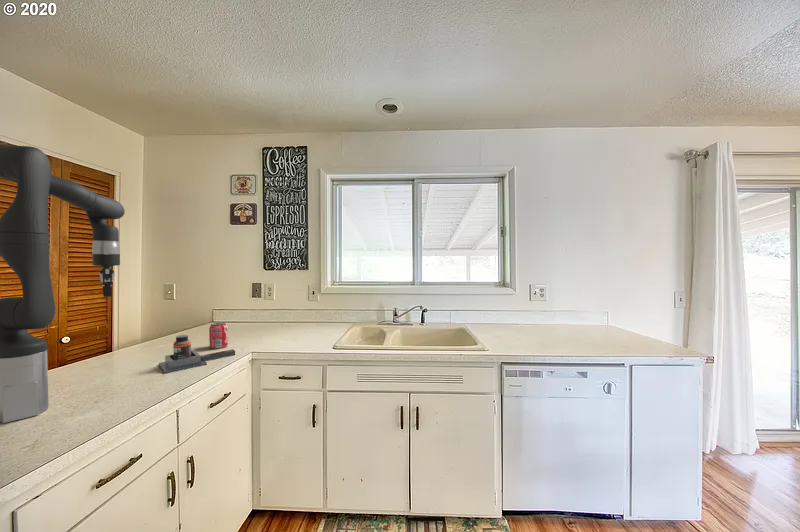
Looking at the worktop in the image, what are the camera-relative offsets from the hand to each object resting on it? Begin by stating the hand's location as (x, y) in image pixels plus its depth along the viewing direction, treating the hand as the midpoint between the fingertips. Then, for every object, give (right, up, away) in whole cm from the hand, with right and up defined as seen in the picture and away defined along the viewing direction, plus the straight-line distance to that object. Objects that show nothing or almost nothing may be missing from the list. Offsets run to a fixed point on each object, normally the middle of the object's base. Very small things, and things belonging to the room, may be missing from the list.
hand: (107, 295), depth 114 cm
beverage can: (+21, -30, +36) cm, 51 cm away
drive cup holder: (+25, -30, +15) cm, 42 cm away
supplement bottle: (+21, -29, +11) cm, 38 cm away
